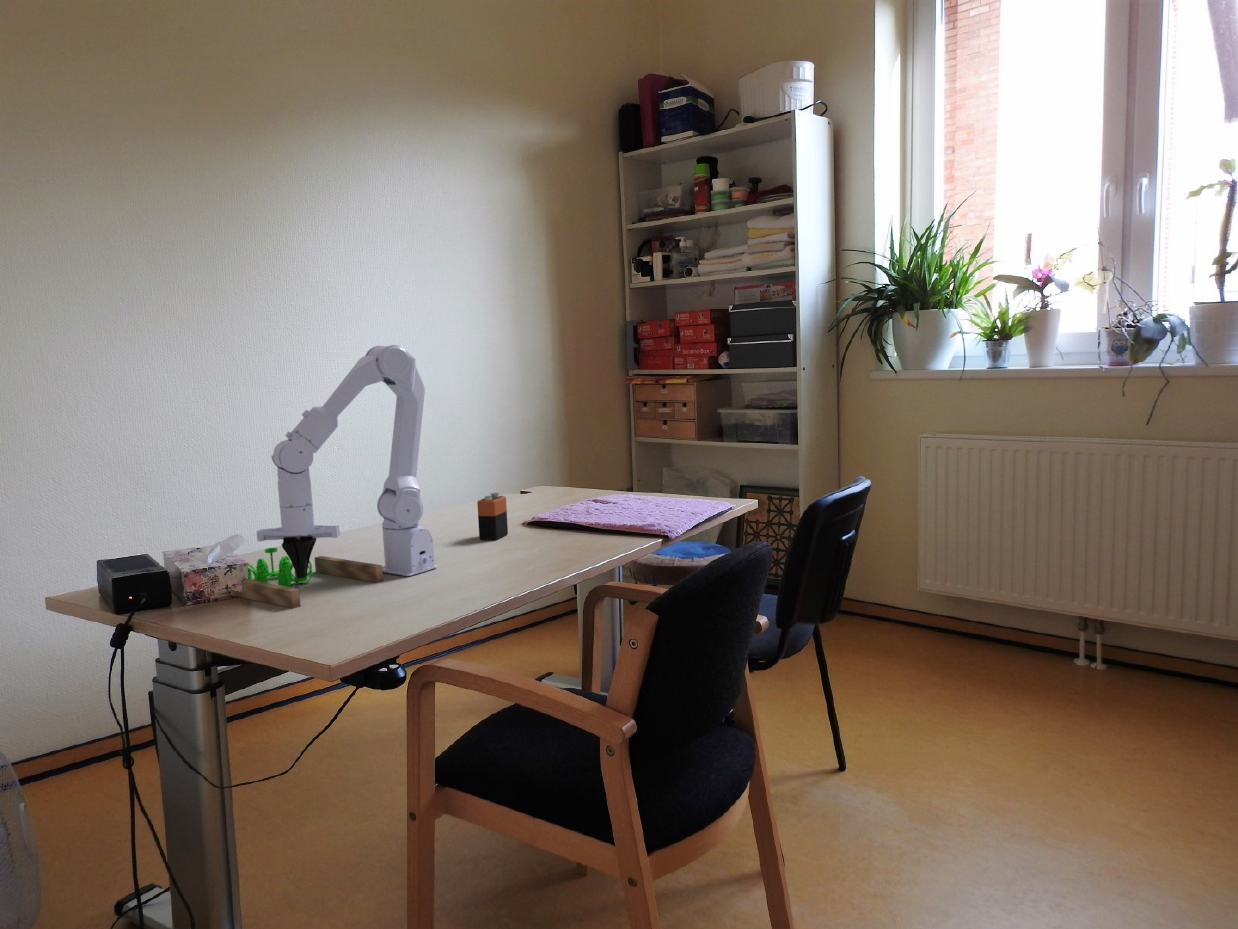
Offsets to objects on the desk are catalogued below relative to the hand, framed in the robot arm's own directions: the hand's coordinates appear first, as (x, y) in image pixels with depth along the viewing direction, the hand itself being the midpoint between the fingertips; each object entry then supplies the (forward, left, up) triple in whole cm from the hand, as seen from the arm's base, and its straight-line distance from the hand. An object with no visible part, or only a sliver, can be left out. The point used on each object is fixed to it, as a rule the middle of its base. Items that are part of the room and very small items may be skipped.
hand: (302, 576), depth 168 cm
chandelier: (+7, +1, -2) cm, 8 cm away
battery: (-4, -49, -2) cm, 49 cm away
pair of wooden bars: (-2, 0, -2) cm, 2 cm away
